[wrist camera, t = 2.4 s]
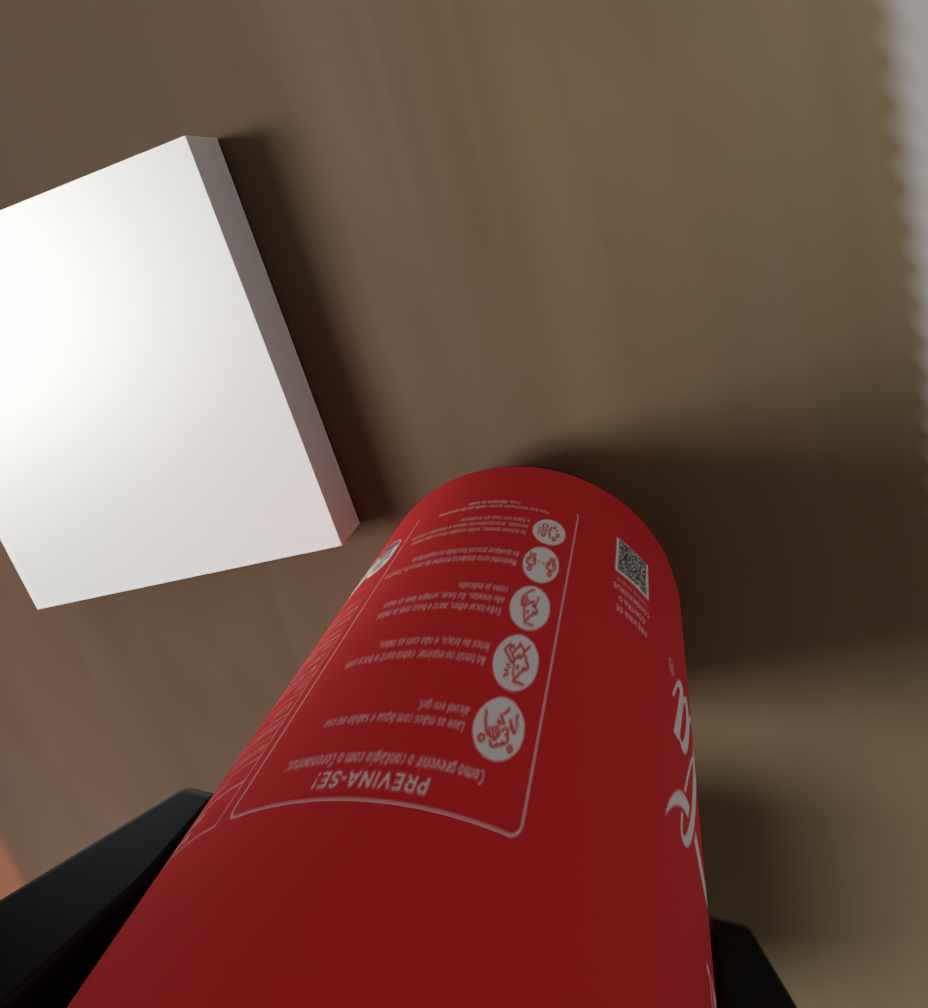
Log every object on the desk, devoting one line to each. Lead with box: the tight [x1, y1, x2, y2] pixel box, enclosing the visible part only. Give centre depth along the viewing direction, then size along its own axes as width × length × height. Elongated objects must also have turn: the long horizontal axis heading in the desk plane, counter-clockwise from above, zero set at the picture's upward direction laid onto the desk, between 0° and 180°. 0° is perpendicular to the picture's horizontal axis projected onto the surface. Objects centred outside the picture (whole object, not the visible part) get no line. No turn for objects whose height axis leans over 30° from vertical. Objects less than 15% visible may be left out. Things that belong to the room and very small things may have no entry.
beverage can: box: [67, 467, 717, 1008], centre depth 9 cm, size 5×5×12 cm
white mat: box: [0, 136, 360, 610], centre depth 15 cm, size 7×7×1 cm
